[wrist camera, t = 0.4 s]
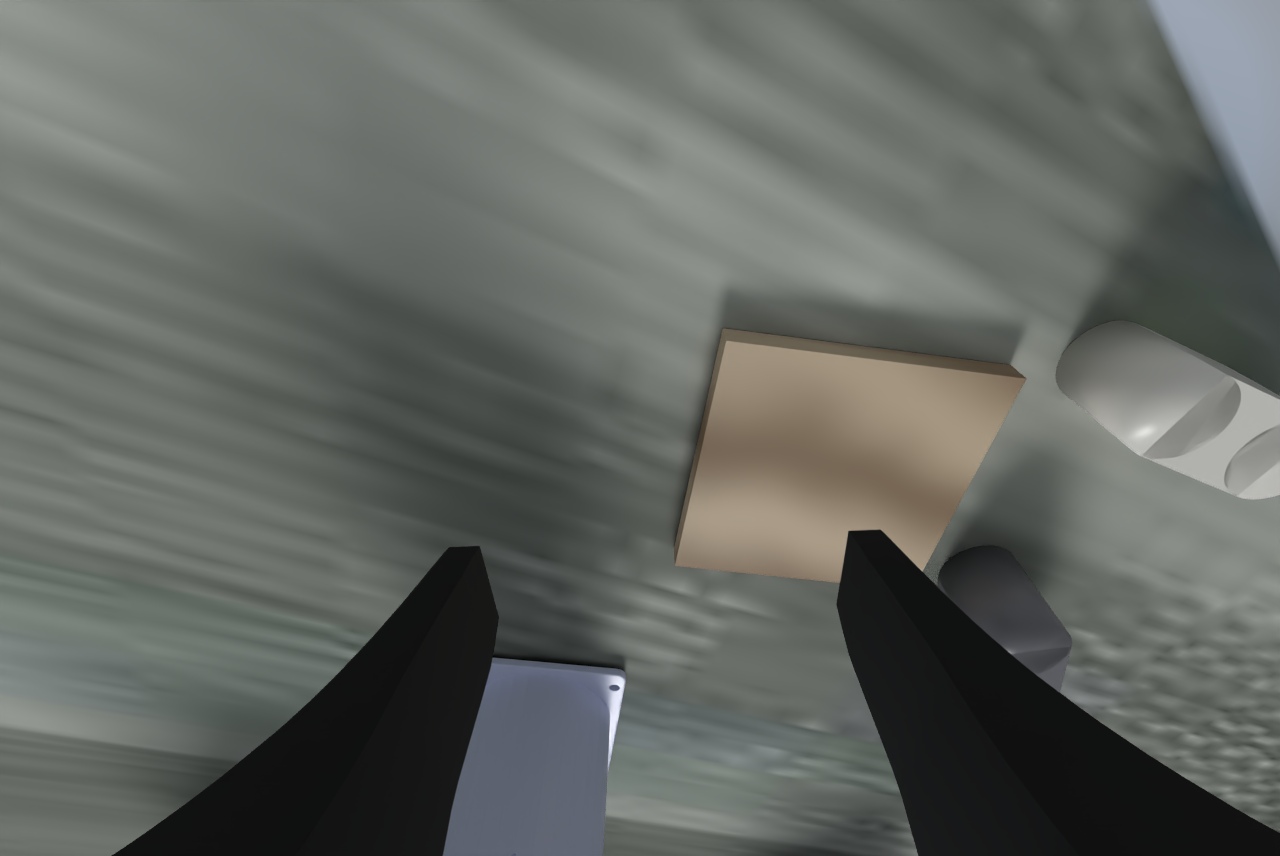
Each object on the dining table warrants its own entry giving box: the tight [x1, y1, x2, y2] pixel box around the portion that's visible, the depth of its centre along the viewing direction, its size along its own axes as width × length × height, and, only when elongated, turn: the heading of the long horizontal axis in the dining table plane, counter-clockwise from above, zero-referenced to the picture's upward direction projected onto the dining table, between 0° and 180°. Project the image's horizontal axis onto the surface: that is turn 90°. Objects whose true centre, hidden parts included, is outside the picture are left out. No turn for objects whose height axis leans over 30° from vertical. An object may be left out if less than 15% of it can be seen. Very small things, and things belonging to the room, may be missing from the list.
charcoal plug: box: [938, 546, 1072, 693], centre depth 26 cm, size 10×3×4 cm, turn 12°
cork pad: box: [674, 328, 1026, 583], centre depth 22 cm, size 10×10×1 cm
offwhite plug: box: [1056, 320, 1280, 499], centre depth 20 cm, size 9×3×4 cm, turn 67°
